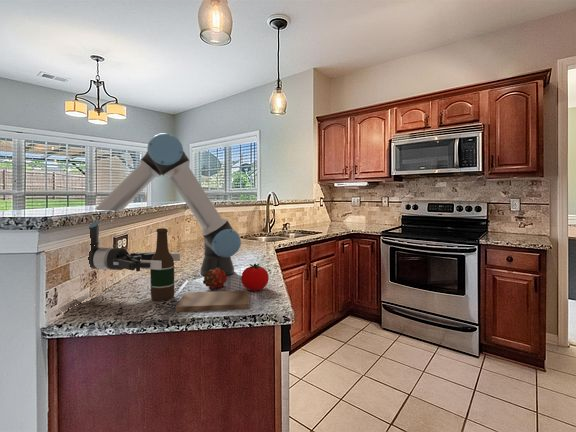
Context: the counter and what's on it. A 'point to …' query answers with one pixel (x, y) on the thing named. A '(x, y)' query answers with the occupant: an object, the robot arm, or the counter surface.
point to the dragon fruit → (215, 278)
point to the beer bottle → (165, 277)
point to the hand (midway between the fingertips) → (171, 260)
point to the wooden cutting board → (213, 301)
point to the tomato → (254, 277)
